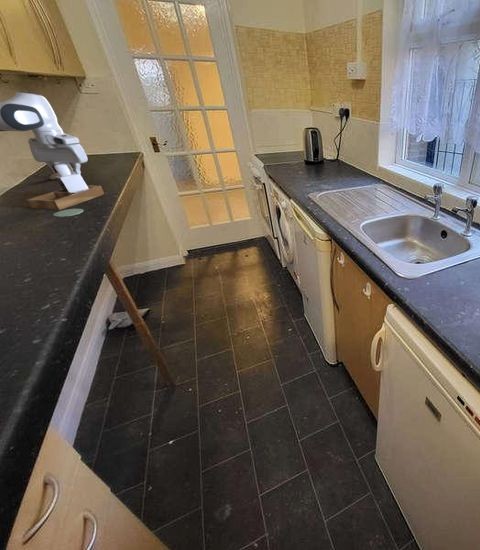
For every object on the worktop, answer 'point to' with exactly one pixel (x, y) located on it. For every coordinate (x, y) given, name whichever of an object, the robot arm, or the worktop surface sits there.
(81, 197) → the tray
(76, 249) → the worktop surface
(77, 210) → the mat
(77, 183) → the medicine bottle
